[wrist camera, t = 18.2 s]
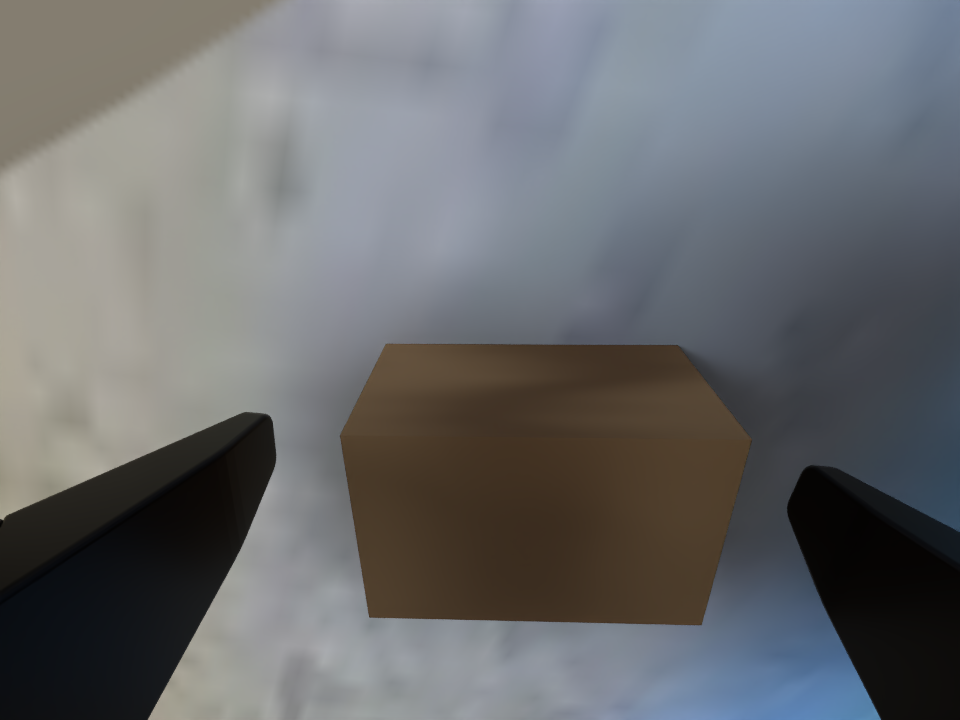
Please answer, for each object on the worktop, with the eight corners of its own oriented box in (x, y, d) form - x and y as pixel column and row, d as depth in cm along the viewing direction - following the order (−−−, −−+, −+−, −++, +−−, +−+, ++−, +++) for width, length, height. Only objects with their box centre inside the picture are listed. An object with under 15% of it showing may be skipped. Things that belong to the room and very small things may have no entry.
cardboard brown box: (674, 341, 10) (751, 439, 7) (648, 493, 12) (701, 625, 9) (387, 340, 11) (339, 435, 7) (402, 489, 12) (369, 617, 9)
